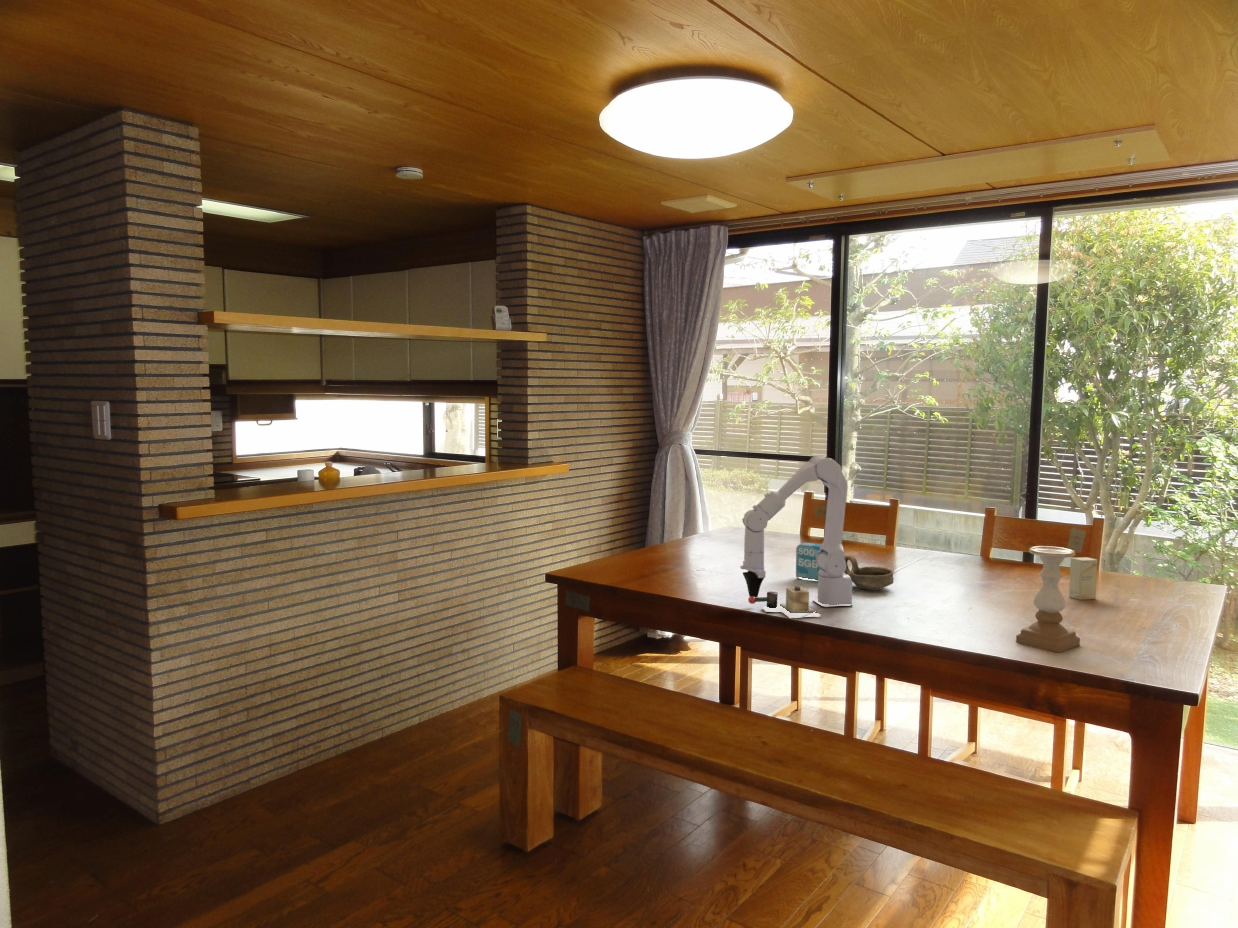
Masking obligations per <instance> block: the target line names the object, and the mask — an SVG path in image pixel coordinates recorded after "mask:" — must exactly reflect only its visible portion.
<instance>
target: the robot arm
mask: <svg viewBox="0 0 1238 928" xmlns="http://www.w3.org/2000/svg"><path fill="white" fill-rule="evenodd" d="M818 480H820V481H821V482H822V483H823V484H824V485H825V486H826V487H827V488H828V493H827V503H826V512H825V513H826V514H825V522H824V523H825V525H824V534H823V541H822V543H820V544H821V546H820V551H819V553H818V555H817V557H816V564H817V566H818V567H819V568H820V569H819V572H818V582H817V599H818V602H820V603H822V604H829V605H837V604H838V605H839V604H853V582H852V581H851V578H850V576H849V575H847V574H845V573H844V572H845V570H846V561H845V559H844V556H845V550H844V547H843V544H842V543H843V533H844V525H845V524H844V523H845V515H846V505H847V504H846V503H847V496H848V495H847V493H848V482H847V480H846V477H845V475H844V473H843V470H842V466H841V465H840V464H839V463H838V462H837V461H836V460H835V459H833V458H830V457H824V456H822V455H815V456H812V457H810V459H809V460H808V461H806V462H804V463H803V464H802V466H801V467H800V468H799V469H798V470H797V471H796V472H795V473H794V474H793V475H792V476H791V477H790V478H789V479H788V480H787V481H786V482H785V483H784V484H783V485H782V487H780V488H779V490H777V491H770V492H769V493H768V492H766V493H765V494H763V495H764V498H762V500H761V501H759V502H758V504H756V505H755V504H754V505H753V506H752V508H753V509H749V510H747V511H746V512H745V513H744V515H743V518H742V519H741V520H742V521H741V522H742V524H743V525H744V541H743V542H744V547H743V548H744V549H743V550H744V552H743V556H744V557H743V559H744V560H743V561H742V565H740V566H739V568H740V569H741V570H745V571H744V572H743V571H742V575H743V577H744V579H745V583H746V586H747V591H748V596H749V597H750V596H754V597H755V598H757V597H758V596H759V592H760V589H761V585H762V584H763V581H764V579H766V575H767V574H766V573H767V571H766V570H765V529H766V528H767V526H768V521H771V519H772V518H773V517H775V516H776V515H777V514H778V513H779V512H780V511H781V510H782V509H783V508H784V507H785V506H786V500H787V499H788V498H789V497H791V496H792V495H793V494H794V493H795V492H796V491H798V490H799V489H800V488H801V487H802V486H803V485H805V484H806V483H809V482H817V481H818Z"/></svg>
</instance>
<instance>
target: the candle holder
mask: <svg viewBox="0 0 1238 928" xmlns="http://www.w3.org/2000/svg"><path fill="white" fill-rule="evenodd" d="M1028 551H1029V553H1030V554H1031V555H1034V556H1035V555H1036V556H1039V559H1040V561H1041V562H1042V565H1043V566H1042V567H1043V568H1042V570H1041V571H1040V572H1039V574H1038V575H1039V577H1040V578H1041V581H1042V585H1041V587H1040V589H1039V590H1038V591H1037V592H1036V593H1035V595H1034V596H1033V597H1034V598H1033V600H1032V601H1033V602H1032V603H1033V606H1034V607H1035V608H1036V609H1037V611H1036V613H1035V615H1034V616H1035V619H1036V620H1037V621H1035V622H1033V623H1031V624H1030V625H1029V626H1026V627H1024V628H1022V629H1020V633H1018V634H1015V635H1016V637H1015V638H1016V639H1015V642H1016V643H1018V644H1022V645H1024V646H1025V645H1026V646H1029V647H1032V648H1038V649H1041V650H1046V651H1048V652H1053V653H1058V654H1059V653H1063V652H1066V651H1069V650H1070V649H1073V648H1077V647H1079V646H1080V645H1081V637H1079V636H1077V632H1076V631H1074V630H1070V629H1067V628H1066V627H1065V626H1064V625H1062V624H1061V623H1062V622H1063V619H1064V618H1063V615H1062V614H1061V612H1062V611H1064V610H1065V608H1066V607H1067V601H1066V599H1065V596H1064V595H1063V593H1062V592H1061V589H1060V588H1059V583H1060V581H1061V579H1062V578H1063V574H1062V573H1061V571H1060V566H1061V564H1062V563H1063V562H1064V559H1065V558H1074V556H1076V551H1075V550H1073V549H1071V548H1065V547H1060V546H1052V545H1051V546H1048V545H1047V546H1046V545H1036V546H1030V548H1029V549H1028Z"/></svg>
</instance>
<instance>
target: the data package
mask: <svg viewBox="0 0 1238 928" xmlns="http://www.w3.org/2000/svg"><path fill="white" fill-rule="evenodd" d="M821 544H822V543H813V542H802V543H801V544H797V546H796V548H795V549H796V551H795V576H796V578H797V577H802V578H808V579H815V580H818V572H819V569H820V568H819V567H818V566H817V564H816V557H817V555H818V553H819V551H820V546H821Z"/></svg>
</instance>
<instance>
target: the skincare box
mask: <svg viewBox="0 0 1238 928" xmlns="http://www.w3.org/2000/svg"><path fill="white" fill-rule="evenodd" d="M1069 565H1070V567H1069V569H1070V570H1069V571H1070V572H1069V587H1068V597H1069V598H1071V599H1076V600H1080V601H1081V600H1095V599H1096V596H1097V595H1096V594H1097V577H1098V576H1097V575H1098V559H1097V558H1092V557H1087V556H1086V557H1085V556H1084V557H1082V556H1081V557H1070V564H1069Z"/></svg>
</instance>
